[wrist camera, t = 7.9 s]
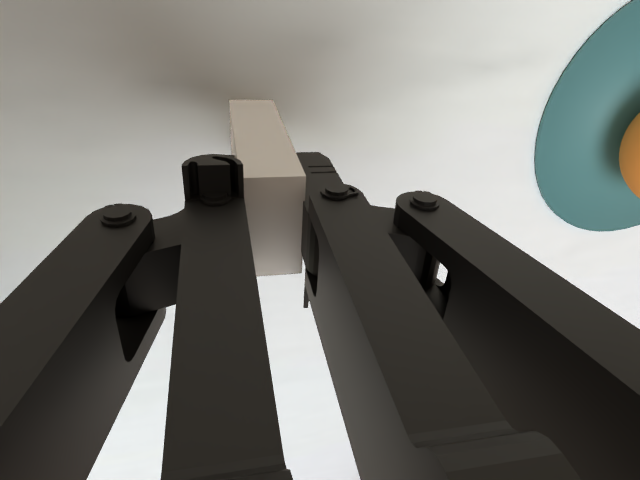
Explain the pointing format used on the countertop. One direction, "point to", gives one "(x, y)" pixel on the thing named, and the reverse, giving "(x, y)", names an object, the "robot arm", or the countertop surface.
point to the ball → (631, 156)
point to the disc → (593, 129)
